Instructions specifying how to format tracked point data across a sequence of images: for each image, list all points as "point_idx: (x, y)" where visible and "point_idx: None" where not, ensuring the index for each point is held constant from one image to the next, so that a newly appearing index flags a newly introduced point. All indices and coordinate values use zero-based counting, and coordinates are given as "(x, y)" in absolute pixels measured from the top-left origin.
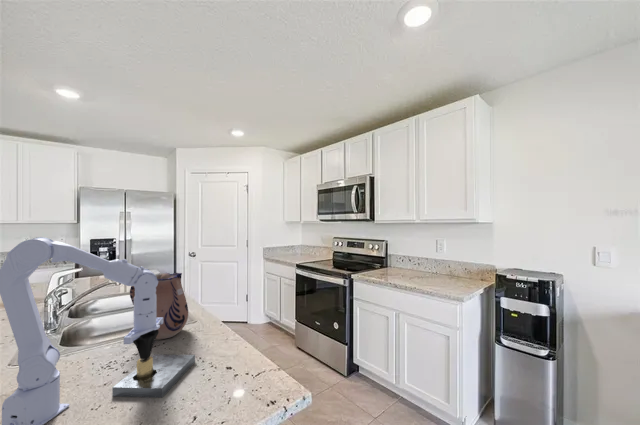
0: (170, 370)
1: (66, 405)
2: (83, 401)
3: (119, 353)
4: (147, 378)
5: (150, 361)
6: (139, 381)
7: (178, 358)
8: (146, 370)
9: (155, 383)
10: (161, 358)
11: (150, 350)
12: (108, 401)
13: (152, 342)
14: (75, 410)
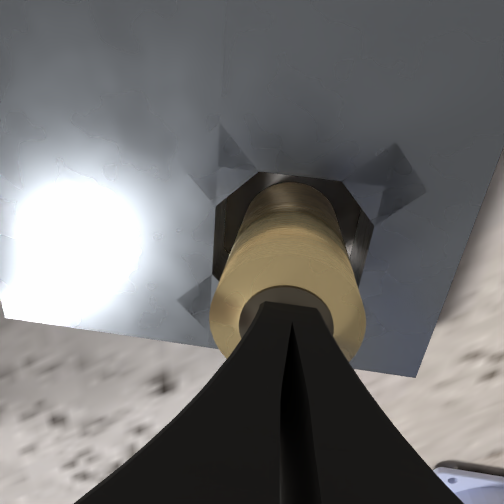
0: (231, 54)
1: (447, 478)
2: (408, 434)
3: (7, 476)
4: (328, 212)
5: (311, 255)
6: (378, 248)
7: (18, 84)
8: (338, 245)
9: (449, 92)
10: (49, 241)
11: (277, 344)
12: (443, 336)
13: (248, 438)
14: (477, 431)
